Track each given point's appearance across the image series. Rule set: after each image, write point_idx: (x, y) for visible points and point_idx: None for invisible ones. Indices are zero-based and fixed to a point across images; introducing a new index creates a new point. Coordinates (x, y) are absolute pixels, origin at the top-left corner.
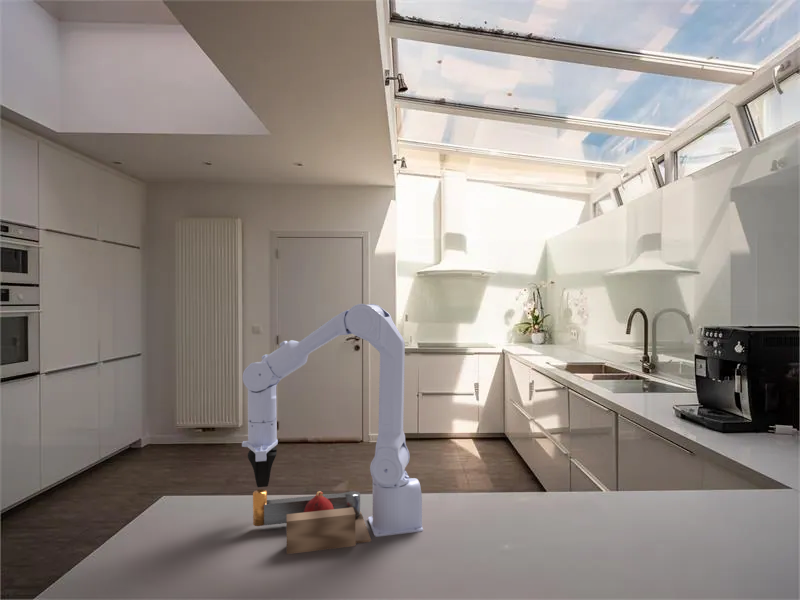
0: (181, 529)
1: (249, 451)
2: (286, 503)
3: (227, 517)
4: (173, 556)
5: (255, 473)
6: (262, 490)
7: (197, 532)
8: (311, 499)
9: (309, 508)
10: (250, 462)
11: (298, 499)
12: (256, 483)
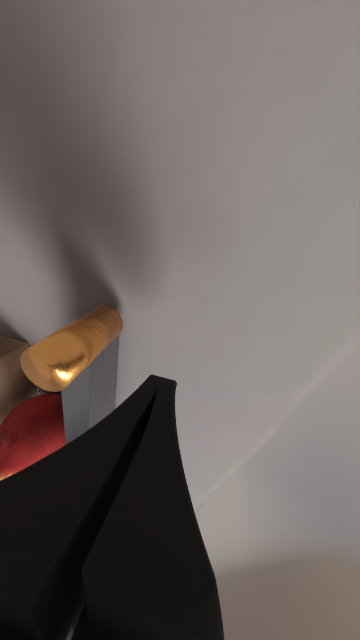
0: (197, 57)
1: (146, 624)
2: (63, 403)
3: (223, 245)
4: (9, 58)
5: (109, 417)
6: (58, 381)
7: (149, 136)
8: (9, 452)
9: (1, 430)
10: (17, 473)
11: (75, 431)
12: (144, 382)
